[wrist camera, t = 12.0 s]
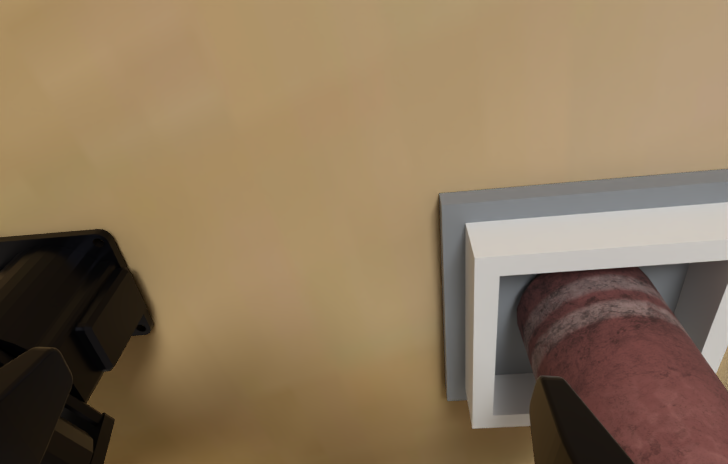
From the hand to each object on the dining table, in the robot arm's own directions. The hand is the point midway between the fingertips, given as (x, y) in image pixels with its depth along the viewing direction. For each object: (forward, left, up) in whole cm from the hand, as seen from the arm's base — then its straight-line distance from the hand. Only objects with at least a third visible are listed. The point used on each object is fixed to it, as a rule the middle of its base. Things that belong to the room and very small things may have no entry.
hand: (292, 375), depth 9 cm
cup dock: (+10, -11, -13) cm, 20 cm away
